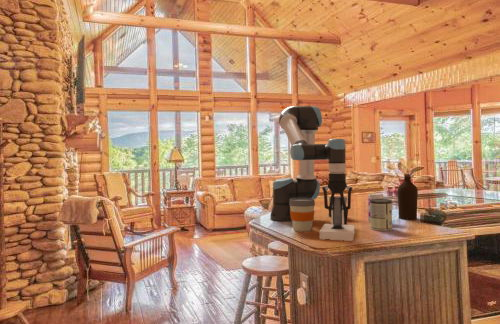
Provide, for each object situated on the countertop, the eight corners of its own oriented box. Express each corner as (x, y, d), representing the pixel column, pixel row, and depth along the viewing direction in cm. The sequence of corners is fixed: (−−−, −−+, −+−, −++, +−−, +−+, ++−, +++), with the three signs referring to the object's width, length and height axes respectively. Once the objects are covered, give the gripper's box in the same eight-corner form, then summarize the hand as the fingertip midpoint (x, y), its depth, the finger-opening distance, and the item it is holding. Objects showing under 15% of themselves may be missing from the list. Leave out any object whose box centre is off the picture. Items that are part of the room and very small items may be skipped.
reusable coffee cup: (318, 228, 188) (317, 198, 188) (311, 233, 177) (311, 201, 177) (294, 226, 194) (293, 197, 193) (286, 231, 182) (285, 200, 182)
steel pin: (333, 231, 173) (333, 196, 172) (342, 231, 171) (342, 197, 171) (332, 233, 169) (332, 197, 168) (342, 233, 168) (341, 198, 167)
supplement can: (367, 222, 201) (367, 194, 200) (369, 220, 208) (368, 193, 208) (384, 223, 198) (383, 195, 197) (384, 220, 205) (384, 193, 205)
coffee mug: (349, 228, 187) (349, 208, 187) (331, 227, 188) (331, 208, 188) (347, 223, 198) (347, 205, 198) (331, 223, 200) (331, 204, 200)
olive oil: (405, 220, 206) (404, 174, 205) (393, 217, 216) (393, 174, 215) (422, 219, 208) (421, 174, 207) (410, 216, 218) (409, 173, 218)
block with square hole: (324, 231, 181) (324, 223, 181) (354, 232, 177) (354, 225, 176) (319, 239, 164) (319, 231, 164) (352, 240, 159) (352, 232, 159)
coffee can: (370, 226, 191) (370, 198, 190) (392, 227, 187) (391, 199, 187) (369, 230, 181) (369, 201, 181) (392, 231, 178) (392, 201, 177)
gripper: (317, 173, 169) (317, 225, 169) (356, 173, 163) (356, 226, 164) (319, 172, 176) (319, 222, 176) (356, 172, 171) (357, 223, 171)
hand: (337, 224), depth 170 cm, fingers closed on steel pin, 4 cm apart
